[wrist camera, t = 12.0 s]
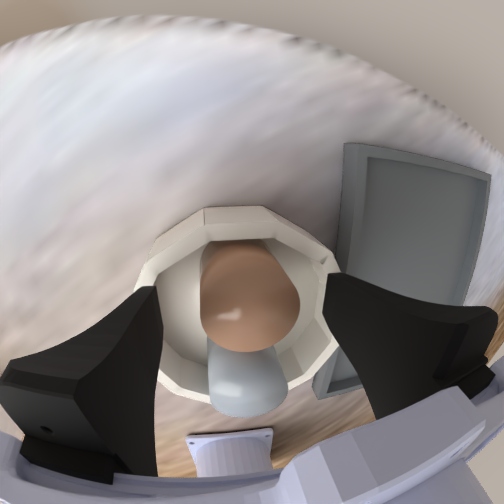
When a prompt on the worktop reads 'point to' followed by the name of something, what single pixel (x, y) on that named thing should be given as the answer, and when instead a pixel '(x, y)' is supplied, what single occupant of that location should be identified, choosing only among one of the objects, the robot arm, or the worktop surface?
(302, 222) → the worktop surface
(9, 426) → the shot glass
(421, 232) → the tray
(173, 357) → the bowl
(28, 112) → the worktop surface
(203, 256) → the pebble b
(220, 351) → the grey rounded cylinder
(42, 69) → the worktop surface
